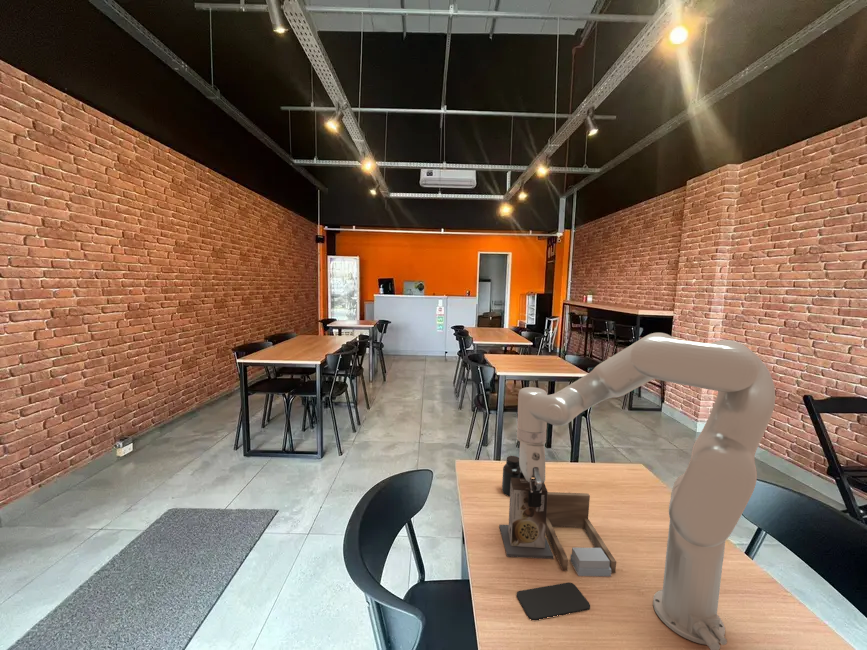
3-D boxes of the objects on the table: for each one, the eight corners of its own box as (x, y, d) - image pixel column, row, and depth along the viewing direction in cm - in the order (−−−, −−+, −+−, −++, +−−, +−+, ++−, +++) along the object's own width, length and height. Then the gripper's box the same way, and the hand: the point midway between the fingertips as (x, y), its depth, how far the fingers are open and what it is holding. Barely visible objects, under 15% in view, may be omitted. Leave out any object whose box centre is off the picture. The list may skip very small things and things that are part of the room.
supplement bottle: (497, 489, 127) (499, 455, 126) (513, 485, 130) (515, 452, 129) (509, 499, 121) (511, 464, 120) (526, 495, 124) (528, 461, 122)
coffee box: (540, 533, 103) (543, 478, 101) (545, 549, 97) (549, 491, 95) (507, 530, 104) (510, 476, 102) (510, 546, 97) (513, 488, 96)
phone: (593, 607, 80) (530, 619, 76) (592, 611, 80) (530, 623, 76) (572, 581, 87) (514, 591, 83) (572, 584, 87) (514, 594, 83)
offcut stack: (610, 577, 89) (612, 562, 89) (578, 576, 89) (579, 561, 88) (601, 562, 94) (602, 547, 94) (570, 561, 94) (571, 547, 93)
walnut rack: (615, 572, 90) (618, 534, 89) (562, 570, 90) (565, 532, 89) (585, 525, 108) (588, 493, 107) (541, 523, 108) (543, 491, 107)
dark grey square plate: (553, 558, 94) (553, 555, 94) (507, 556, 94) (507, 554, 94) (540, 528, 106) (540, 526, 106) (499, 527, 106) (499, 524, 106)
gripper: (556, 448, 89) (553, 515, 90) (536, 423, 106) (535, 480, 107) (525, 447, 89) (523, 514, 90) (511, 423, 106) (509, 479, 107)
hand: (529, 496), depth 99 cm, fingers open, 9 cm apart
